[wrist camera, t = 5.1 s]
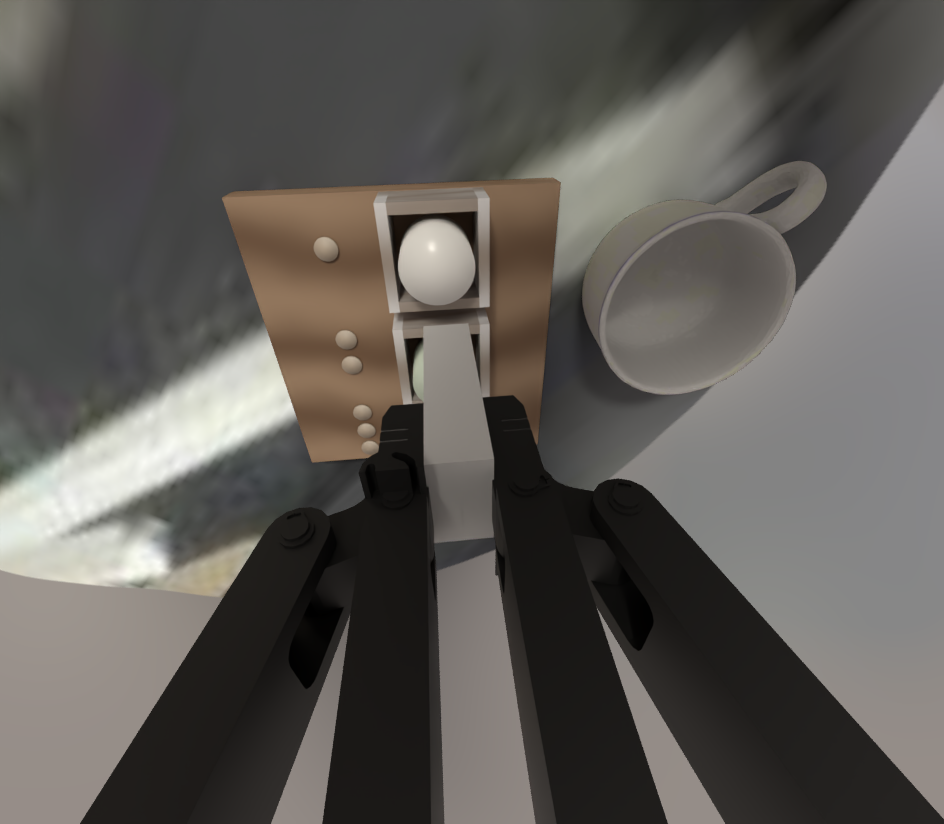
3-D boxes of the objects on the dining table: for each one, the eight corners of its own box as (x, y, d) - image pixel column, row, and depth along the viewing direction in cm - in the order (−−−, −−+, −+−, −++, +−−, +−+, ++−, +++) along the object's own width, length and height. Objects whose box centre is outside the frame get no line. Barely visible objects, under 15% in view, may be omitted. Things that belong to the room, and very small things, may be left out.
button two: (410, 333, 27) (409, 356, 25) (472, 329, 28) (476, 351, 25) (416, 385, 30) (416, 410, 27) (473, 381, 30) (478, 406, 28)
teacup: (616, 364, 35) (660, 425, 28) (534, 271, 30) (565, 320, 23) (784, 236, 30) (883, 275, 23) (720, 97, 25) (825, 98, 18)
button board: (233, 191, 25) (197, 210, 21) (553, 177, 26) (576, 192, 22) (316, 448, 37) (303, 490, 33) (533, 430, 38) (546, 470, 34)
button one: (396, 216, 23) (393, 230, 21) (469, 212, 24) (474, 226, 21) (404, 287, 26) (403, 307, 23) (471, 283, 26) (475, 303, 24)
